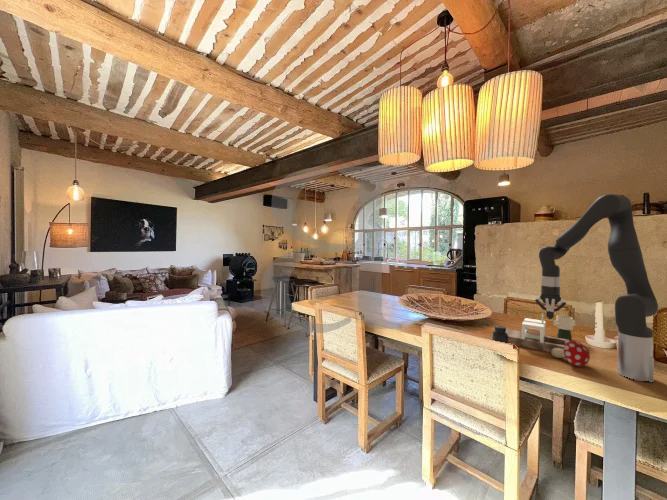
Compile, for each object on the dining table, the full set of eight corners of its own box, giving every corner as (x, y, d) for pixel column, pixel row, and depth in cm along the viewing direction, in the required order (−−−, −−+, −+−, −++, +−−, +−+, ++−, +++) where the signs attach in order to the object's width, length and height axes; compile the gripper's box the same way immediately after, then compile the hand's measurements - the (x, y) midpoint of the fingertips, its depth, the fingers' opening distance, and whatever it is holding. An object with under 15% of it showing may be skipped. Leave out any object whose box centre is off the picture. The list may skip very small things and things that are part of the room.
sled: (543, 336, 143) (544, 312, 142) (542, 340, 137) (542, 315, 136) (525, 333, 148) (525, 310, 148) (523, 337, 142) (523, 313, 142)
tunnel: (545, 335, 144) (545, 321, 144) (543, 342, 134) (543, 327, 134) (525, 332, 150) (525, 318, 150) (521, 338, 140) (521, 323, 140)
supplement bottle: (492, 351, 134) (492, 327, 134) (491, 346, 140) (491, 324, 140) (508, 353, 131) (508, 329, 131) (507, 349, 137) (507, 325, 137)
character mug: (569, 338, 151) (570, 315, 151) (580, 342, 144) (580, 318, 144) (549, 337, 153) (549, 315, 152) (558, 342, 145) (558, 318, 145)
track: (568, 347, 138) (569, 339, 138) (568, 356, 128) (568, 347, 128) (505, 335, 157) (505, 328, 157) (500, 342, 146) (500, 334, 146)
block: (540, 337, 142) (540, 327, 142) (539, 339, 139) (539, 330, 139) (528, 335, 146) (528, 325, 146) (527, 337, 142) (527, 328, 142)
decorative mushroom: (544, 336, 131) (576, 335, 117) (564, 348, 131) (598, 348, 117) (540, 357, 126) (573, 359, 112) (560, 369, 126) (596, 372, 112)
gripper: (533, 284, 139) (533, 317, 139) (567, 287, 130) (567, 322, 130) (535, 283, 144) (534, 314, 145) (567, 285, 136) (567, 319, 136)
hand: (550, 318), depth 138 cm, fingers closed
